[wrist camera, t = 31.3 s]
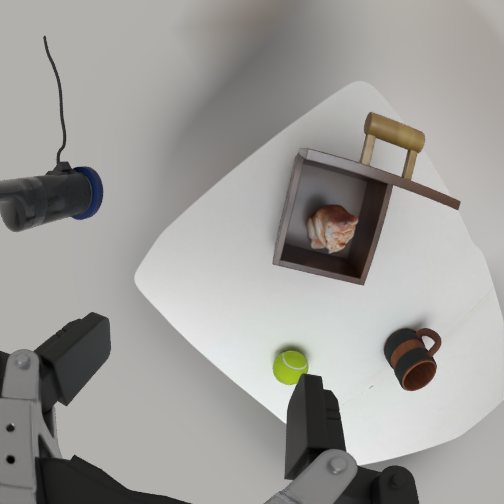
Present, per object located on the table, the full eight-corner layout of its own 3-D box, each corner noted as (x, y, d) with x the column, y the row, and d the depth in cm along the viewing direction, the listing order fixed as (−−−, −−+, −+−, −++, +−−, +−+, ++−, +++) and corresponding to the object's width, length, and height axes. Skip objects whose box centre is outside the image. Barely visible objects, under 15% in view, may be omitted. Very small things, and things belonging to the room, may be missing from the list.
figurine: (308, 245, 48) (318, 275, 34) (300, 202, 46) (307, 214, 32) (342, 239, 47) (366, 265, 33) (335, 195, 46) (358, 204, 31)
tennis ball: (300, 373, 57) (301, 394, 50) (269, 365, 57) (267, 386, 50) (312, 348, 55) (314, 369, 48) (280, 340, 55) (279, 360, 48)
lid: (458, 210, 19) (472, 152, 17) (305, 159, 19) (320, 91, 17) (395, 182, 34) (403, 146, 32) (298, 153, 35) (307, 115, 33)
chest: (348, 263, 49) (363, 285, 39) (274, 245, 50) (272, 264, 39) (371, 178, 45) (394, 179, 34) (295, 156, 45) (298, 151, 35)
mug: (434, 324, 50) (458, 353, 39) (400, 364, 54) (416, 397, 43) (411, 307, 50) (435, 336, 39) (375, 351, 53) (390, 385, 42)
